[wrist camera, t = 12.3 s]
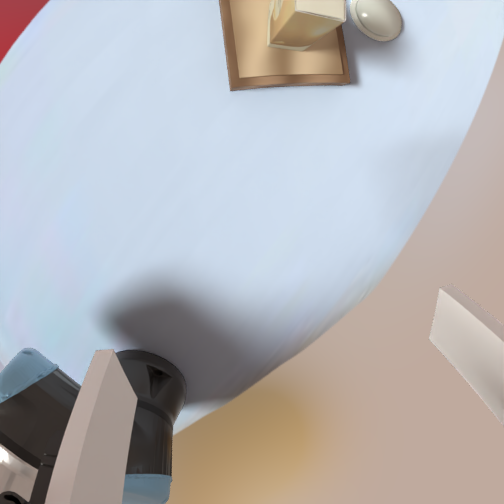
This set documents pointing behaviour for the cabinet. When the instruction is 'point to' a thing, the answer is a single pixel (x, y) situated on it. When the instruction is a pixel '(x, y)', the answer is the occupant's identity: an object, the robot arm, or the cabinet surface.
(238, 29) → the tan square flat tray
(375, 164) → the cabinet surface
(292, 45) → the skincare box
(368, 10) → the trinket dish
